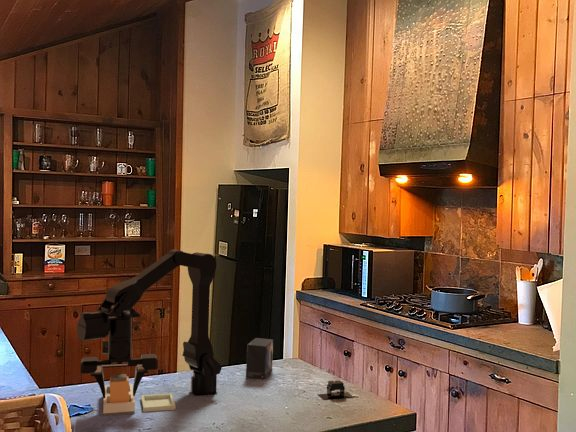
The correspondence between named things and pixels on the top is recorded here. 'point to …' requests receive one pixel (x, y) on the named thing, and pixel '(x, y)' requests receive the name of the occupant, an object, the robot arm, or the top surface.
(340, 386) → the dark boxy piece
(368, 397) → the top surface
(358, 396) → the top surface
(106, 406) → the cream slotted rack
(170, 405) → the tray
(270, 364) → the small box
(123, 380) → the plug
